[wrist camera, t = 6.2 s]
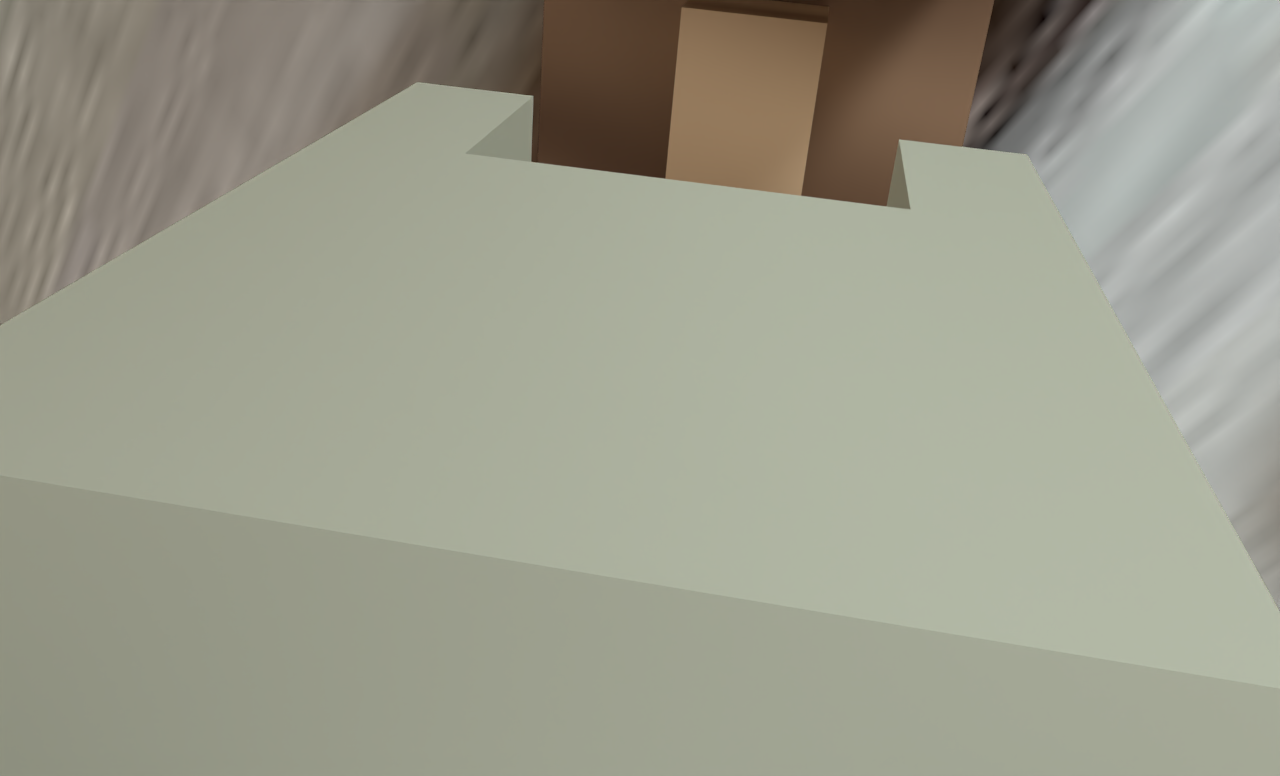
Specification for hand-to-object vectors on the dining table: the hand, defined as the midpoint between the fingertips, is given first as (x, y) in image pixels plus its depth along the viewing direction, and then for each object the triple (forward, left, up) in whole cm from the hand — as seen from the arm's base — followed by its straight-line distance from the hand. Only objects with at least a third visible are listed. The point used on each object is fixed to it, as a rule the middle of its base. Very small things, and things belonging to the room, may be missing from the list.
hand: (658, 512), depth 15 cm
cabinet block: (0, 0, -2) cm, 2 cm away
